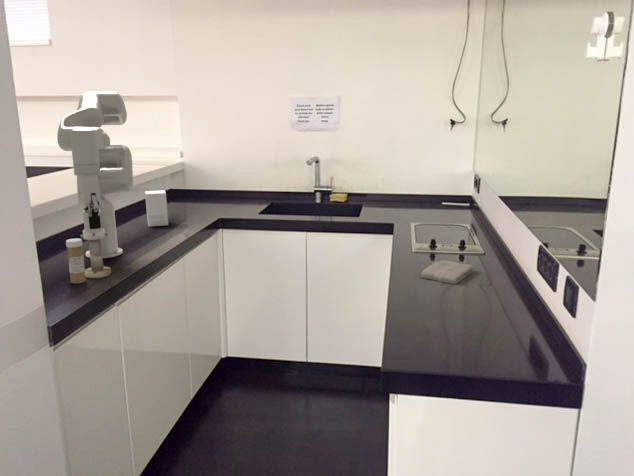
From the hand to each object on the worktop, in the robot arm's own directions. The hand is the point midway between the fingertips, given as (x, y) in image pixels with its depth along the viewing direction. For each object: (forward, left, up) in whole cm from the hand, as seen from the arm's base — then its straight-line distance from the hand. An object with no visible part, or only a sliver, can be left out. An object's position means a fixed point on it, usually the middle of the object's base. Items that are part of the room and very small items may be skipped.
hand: (92, 226), depth 169 cm
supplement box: (-74, +7, -16) cm, 76 cm away
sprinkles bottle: (+7, -4, -16) cm, 18 cm away
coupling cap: (+1, 0, -4) cm, 4 cm away
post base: (0, 0, -16) cm, 16 cm away
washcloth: (+12, +113, -17) cm, 115 cm away
